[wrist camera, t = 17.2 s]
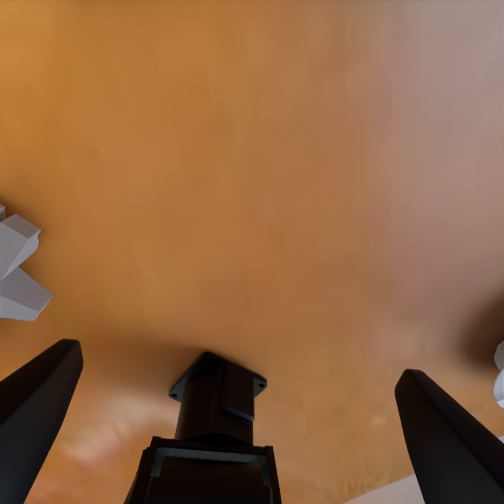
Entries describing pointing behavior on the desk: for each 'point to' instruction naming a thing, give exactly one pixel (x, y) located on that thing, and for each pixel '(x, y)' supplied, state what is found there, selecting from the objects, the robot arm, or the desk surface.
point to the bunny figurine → (19, 270)
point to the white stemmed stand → (499, 375)
